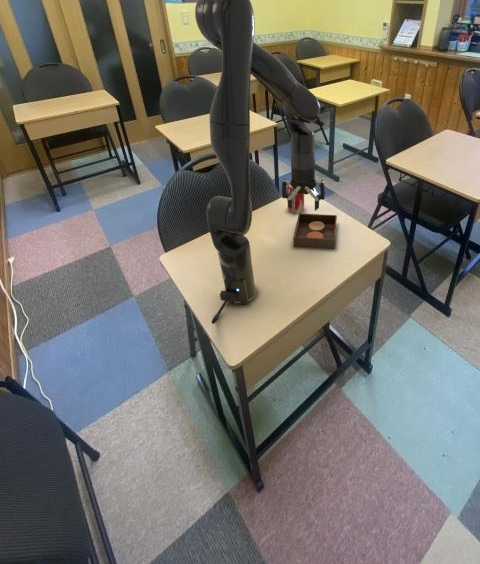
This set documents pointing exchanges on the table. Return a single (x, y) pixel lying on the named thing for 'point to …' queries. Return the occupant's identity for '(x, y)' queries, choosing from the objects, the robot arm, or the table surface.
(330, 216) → the tray
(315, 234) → the terracotta coaster
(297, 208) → the soda can
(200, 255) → the table surface
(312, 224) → the cork coaster
